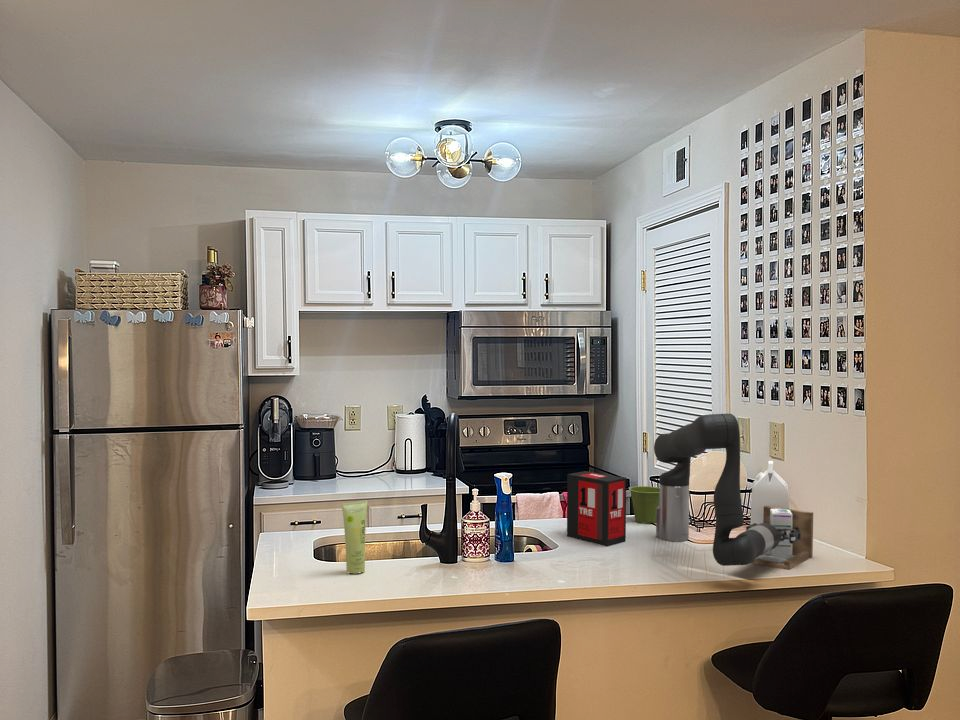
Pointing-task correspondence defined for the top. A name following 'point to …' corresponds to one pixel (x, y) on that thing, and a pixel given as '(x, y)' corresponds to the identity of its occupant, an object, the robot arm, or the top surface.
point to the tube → (355, 535)
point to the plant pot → (645, 503)
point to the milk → (768, 493)
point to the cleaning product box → (596, 508)
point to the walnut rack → (799, 548)
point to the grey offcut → (771, 559)
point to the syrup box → (782, 520)
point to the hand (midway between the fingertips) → (783, 528)
